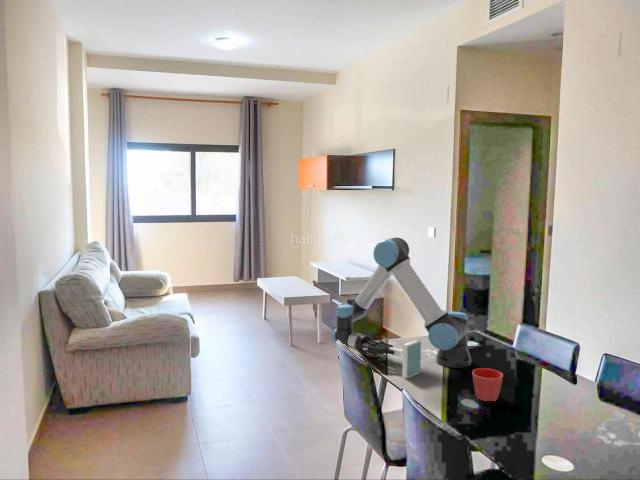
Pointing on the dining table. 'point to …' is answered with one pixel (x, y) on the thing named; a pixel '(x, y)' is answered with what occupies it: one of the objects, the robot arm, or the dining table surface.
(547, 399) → the dining table surface
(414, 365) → the tile
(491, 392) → the flower pot
